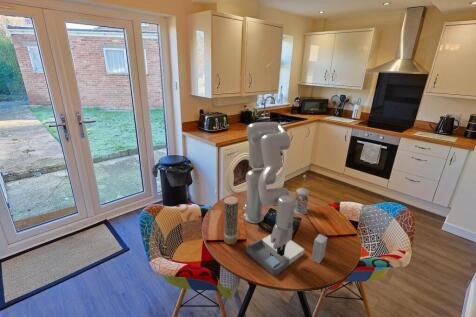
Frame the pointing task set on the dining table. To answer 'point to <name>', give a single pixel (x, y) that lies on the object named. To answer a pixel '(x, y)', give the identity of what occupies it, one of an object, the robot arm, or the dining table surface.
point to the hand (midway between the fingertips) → (280, 254)
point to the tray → (265, 257)
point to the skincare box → (319, 248)
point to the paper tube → (230, 219)
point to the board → (290, 252)
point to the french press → (298, 207)
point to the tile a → (273, 261)
